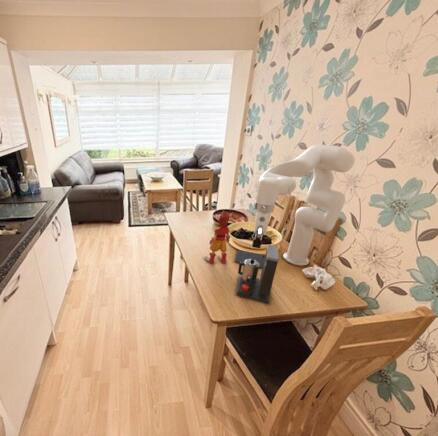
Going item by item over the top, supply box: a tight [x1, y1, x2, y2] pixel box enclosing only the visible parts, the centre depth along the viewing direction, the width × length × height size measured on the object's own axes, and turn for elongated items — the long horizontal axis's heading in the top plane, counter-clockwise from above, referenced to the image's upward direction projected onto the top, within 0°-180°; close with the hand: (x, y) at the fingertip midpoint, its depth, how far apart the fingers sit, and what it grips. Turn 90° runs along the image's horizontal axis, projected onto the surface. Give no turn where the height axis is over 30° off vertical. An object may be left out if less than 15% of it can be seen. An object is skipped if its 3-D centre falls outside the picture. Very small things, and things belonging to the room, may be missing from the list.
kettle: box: [237, 259, 260, 283], centre depth 112 cm, size 9×8×11 cm
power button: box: [242, 284, 249, 291], centre depth 109 cm, size 3×3×2 cm
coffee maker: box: [236, 277, 269, 305], centre depth 112 cm, size 15×13×3 cm
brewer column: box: [239, 244, 280, 296], centre depth 108 cm, size 13×13×19 cm
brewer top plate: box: [234, 249, 264, 269], centre depth 136 cm, size 14×14×1 cm
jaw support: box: [301, 264, 336, 291], centre depth 114 cm, size 12×9×10 cm
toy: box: [204, 209, 231, 264], centre depth 129 cm, size 12×9×30 cm
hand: (256, 242), depth 107 cm, fingers open, 9 cm apart
